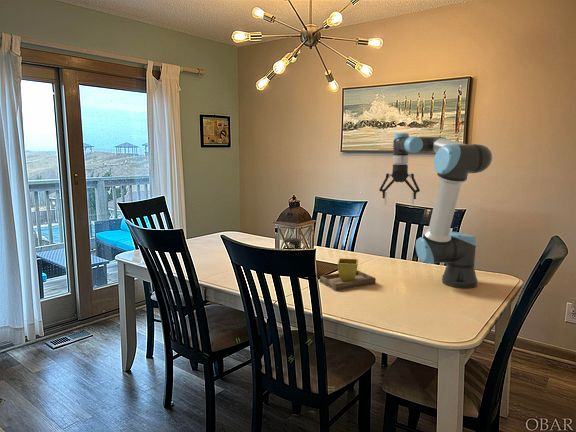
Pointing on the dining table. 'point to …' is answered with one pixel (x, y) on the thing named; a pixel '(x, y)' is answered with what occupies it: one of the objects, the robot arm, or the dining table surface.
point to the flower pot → (347, 269)
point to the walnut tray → (337, 284)
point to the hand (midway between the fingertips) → (398, 205)
